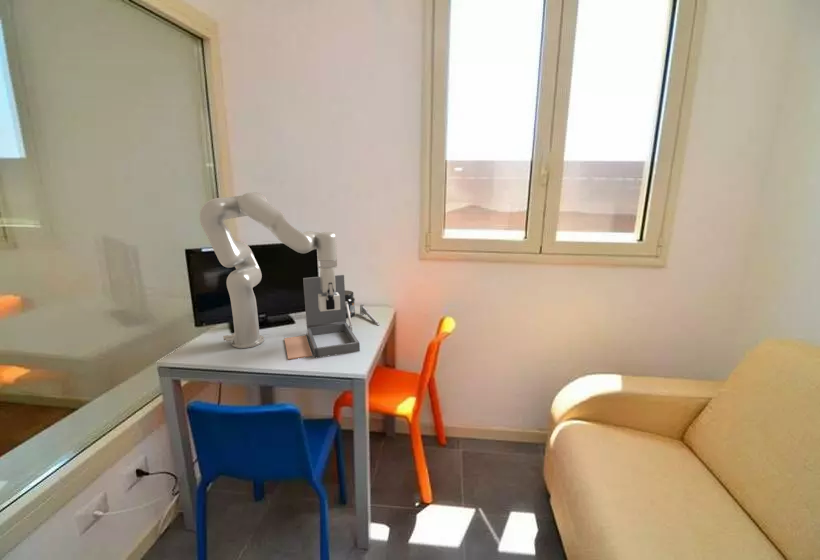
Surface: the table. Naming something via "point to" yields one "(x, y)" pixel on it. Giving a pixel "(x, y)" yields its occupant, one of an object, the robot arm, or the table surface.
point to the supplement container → (350, 303)
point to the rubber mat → (297, 347)
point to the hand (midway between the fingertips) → (329, 306)
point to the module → (322, 301)
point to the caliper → (365, 311)
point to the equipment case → (327, 318)
